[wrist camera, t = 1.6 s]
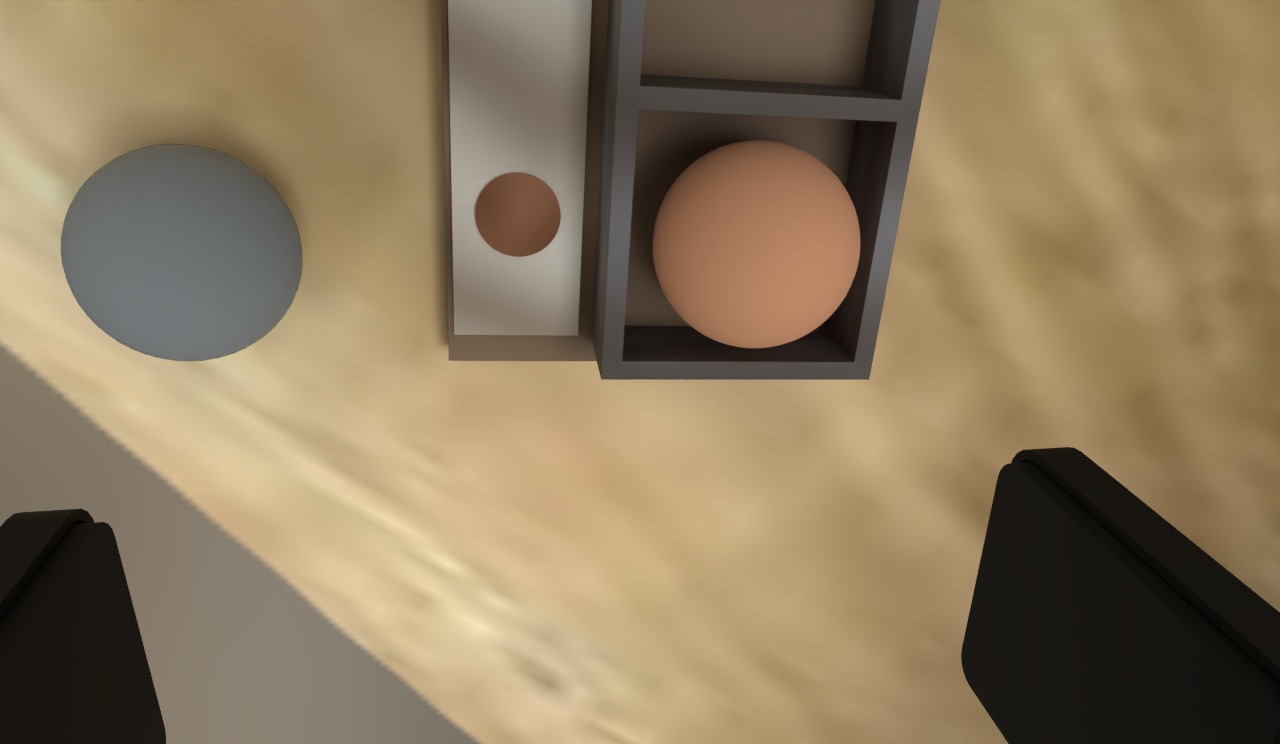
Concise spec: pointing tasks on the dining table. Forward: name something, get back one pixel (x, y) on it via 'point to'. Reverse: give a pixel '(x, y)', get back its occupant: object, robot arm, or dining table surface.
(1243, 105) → the dining table surface
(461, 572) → the dining table surface
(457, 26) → the grey divided tray
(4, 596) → the robot arm
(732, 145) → the seated terracotta ball
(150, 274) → the slate ball
